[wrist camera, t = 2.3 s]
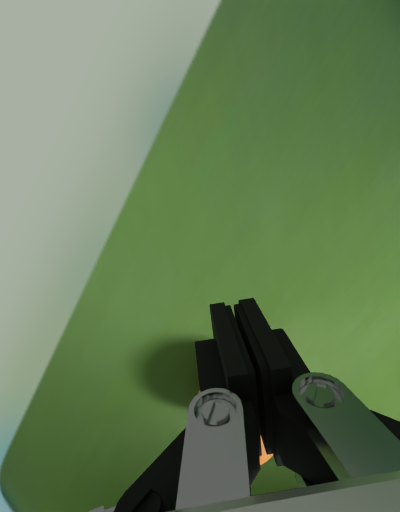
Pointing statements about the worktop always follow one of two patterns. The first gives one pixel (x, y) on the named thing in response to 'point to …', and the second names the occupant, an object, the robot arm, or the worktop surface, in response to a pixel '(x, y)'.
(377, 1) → the worktop surface
